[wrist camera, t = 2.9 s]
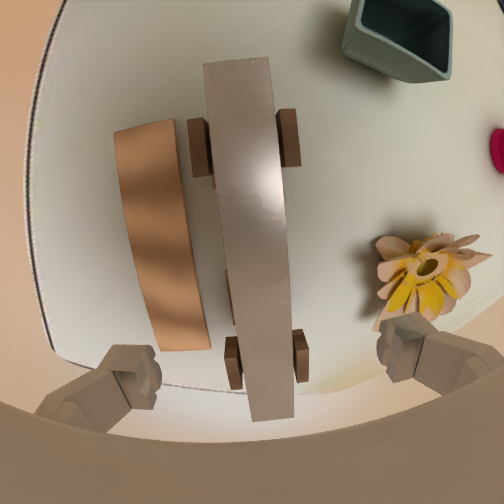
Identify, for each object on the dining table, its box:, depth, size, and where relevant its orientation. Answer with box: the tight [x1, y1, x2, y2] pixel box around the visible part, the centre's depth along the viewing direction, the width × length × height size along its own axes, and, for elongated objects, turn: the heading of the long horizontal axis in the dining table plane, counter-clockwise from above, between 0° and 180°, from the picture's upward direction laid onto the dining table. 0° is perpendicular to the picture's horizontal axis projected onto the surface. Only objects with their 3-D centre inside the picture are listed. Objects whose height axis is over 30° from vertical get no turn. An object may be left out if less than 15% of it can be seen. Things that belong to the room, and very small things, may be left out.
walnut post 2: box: [224, 269, 309, 390], centre depth 23 cm, size 6×6×12 cm
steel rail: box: [203, 57, 294, 422], centre depth 15 cm, size 22×3×3 cm, turn 6°
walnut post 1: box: [187, 109, 301, 189], centre depth 19 cm, size 6×6×12 cm
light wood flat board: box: [114, 119, 211, 351], centre depth 26 cm, size 24×6×1 cm, turn 6°
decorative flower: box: [372, 232, 492, 332], centre depth 24 cm, size 15×11×10 cm
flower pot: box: [341, 0, 453, 83], centre depth 16 cm, size 9×9×9 cm
